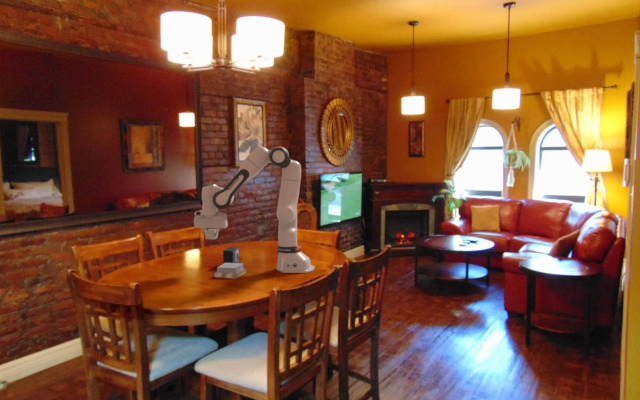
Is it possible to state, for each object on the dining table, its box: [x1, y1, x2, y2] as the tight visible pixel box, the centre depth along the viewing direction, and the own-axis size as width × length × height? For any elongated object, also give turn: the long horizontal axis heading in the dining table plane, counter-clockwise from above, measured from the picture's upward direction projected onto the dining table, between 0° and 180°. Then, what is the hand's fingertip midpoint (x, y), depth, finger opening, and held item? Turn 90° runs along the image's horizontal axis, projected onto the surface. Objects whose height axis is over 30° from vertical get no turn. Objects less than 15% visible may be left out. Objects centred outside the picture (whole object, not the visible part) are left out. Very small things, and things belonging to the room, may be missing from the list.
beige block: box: [204, 228, 218, 240], centre depth 265 cm, size 5×5×5 cm
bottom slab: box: [213, 267, 247, 279], centre depth 259 cm, size 13×13×3 cm
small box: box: [222, 246, 240, 264], centre depth 279 cm, size 11×6×10 cm, turn 168°
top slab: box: [216, 262, 244, 274], centre depth 258 cm, size 11×11×3 cm
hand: (211, 235), depth 265 cm, fingers closed on beige block, 5 cm apart
